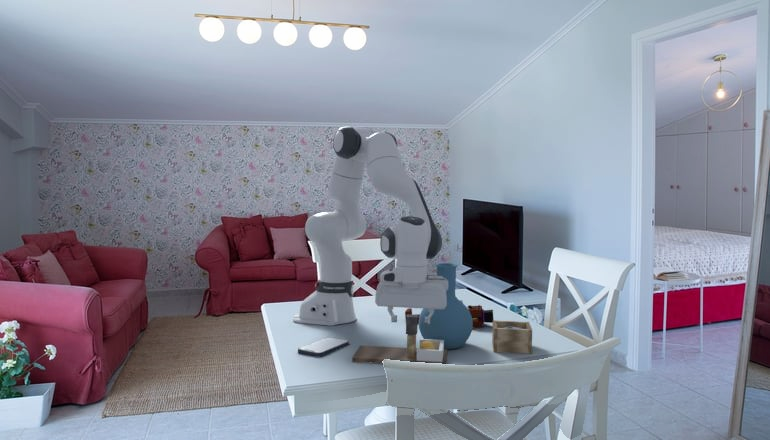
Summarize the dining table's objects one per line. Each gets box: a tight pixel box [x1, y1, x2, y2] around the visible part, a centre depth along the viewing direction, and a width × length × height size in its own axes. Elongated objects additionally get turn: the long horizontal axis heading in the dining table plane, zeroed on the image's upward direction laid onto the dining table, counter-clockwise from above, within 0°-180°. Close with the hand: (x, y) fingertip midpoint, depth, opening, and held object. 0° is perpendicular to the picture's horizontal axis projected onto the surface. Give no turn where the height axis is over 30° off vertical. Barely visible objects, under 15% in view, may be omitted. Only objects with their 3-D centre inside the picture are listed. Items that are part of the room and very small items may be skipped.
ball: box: [421, 341, 435, 350], centre depth 165 cm, size 4×4×4 cm
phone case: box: [297, 337, 350, 358], centre depth 175 cm, size 9×2×16 cm
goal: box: [417, 338, 445, 362], centre depth 165 cm, size 7×11×3 cm, turn 172°
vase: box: [418, 262, 473, 350], centre depth 179 cm, size 16×16×25 cm
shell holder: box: [491, 320, 533, 355], centre depth 177 cm, size 11×10×7 cm
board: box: [351, 345, 448, 365], centre depth 167 cm, size 26×12×1 cm, turn 82°
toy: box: [404, 299, 495, 329], centre depth 205 cm, size 26×7×30 cm
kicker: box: [405, 314, 419, 357], centre depth 166 cm, size 3×6×11 cm, turn 172°
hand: (410, 322), depth 166 cm, fingers open, 8 cm apart
